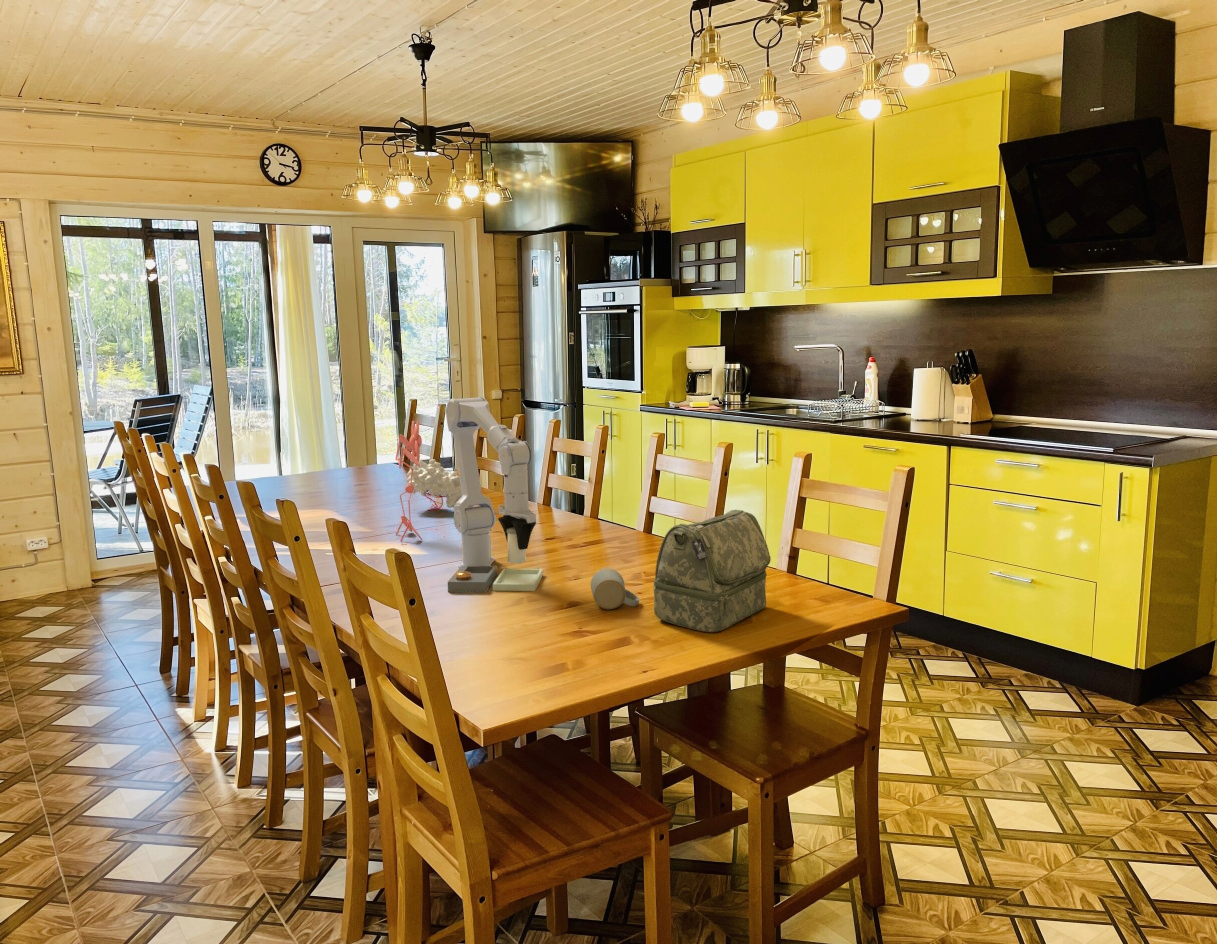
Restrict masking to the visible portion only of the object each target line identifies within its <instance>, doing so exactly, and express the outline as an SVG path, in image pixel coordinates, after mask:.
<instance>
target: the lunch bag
mask: <svg viewBox="0 0 1217 944" xmlns="http://www.w3.org/2000/svg"><path fill="white" fill-rule="evenodd" d="M765 539H766V538H765V537H764V533H763V531H762V528H761V526H760V524H759V521H758V520H757V517H755V515H754V514H752V513H750V512H747V511H744V510H741V509H731V510H729V511H727V512H726V513H725V514H722V515H718V516H714V517H710V518H707V519H705V520H703V521H698V522H694V523H690V524H689V523H688V524H686V523H680V524H676V525H673V526H672V527H671V528H670V529H669V530H668V531H667V532H666V533H665V535H664V537H663V539H662V541H661V544H660V547H659V551H658V555H657V558H656V566H655V571H654V572H655V573H654V576H655V577H654V580H653V596H654V597H653V598H654V600H653V601H654V602H653V605H654V606H653V612H654V615H655V616H656V617H657V619H659V620H660V621H664V622H667V623H670V624H673V625H676V626H680V627H683V628H687V629H690V630H695V631H699V632H704V633H716V632H721V631H723V630H725V629H728V628H730V627H731V626H734V625H735V624H737V623H739V622H741V621H742V620H745V619H746V618H748V617H749V616H752V615H754V614H755V613H758V612H759V611H761V610H763V609H764V608H766V606H767V595H766V593H767V592H766V591H767V590H766V586H767V585H766V582H767V571H766V570H767V567H768V566H769V564H770V563H771V561H772V558H771V554H770V551H769V548H768V547H769V546H768V544H767V541H766V540H765Z"/></svg>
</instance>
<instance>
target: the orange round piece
mask: <svg viewBox="0 0 1217 944" xmlns="http://www.w3.org/2000/svg"><path fill="white" fill-rule="evenodd" d="M456 572H457V571H456ZM456 572H455V573H456ZM456 578H457V579H459V580H468V578H471V572H468V571H461V572H457V573H456Z"/></svg>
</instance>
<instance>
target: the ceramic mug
mask: <svg viewBox="0 0 1217 944" xmlns="http://www.w3.org/2000/svg"><path fill="white" fill-rule="evenodd" d="M590 589H591V593H592V598H593V599H594V601H595V603H596V605H598V606H599V607H600V608H602V609H604V610H615V609H617V608H619V607H620V606H622V604H624V605H627V606H630V607H633V608H634V607H637V606H638V605H639V602H640V598H639V597H638V596H637V595H636V594H635V593H633V592H632V591H630V590H629V589H626V587H625V580H624V578H623V576H622V575H621V574H620V572H618V570H615V569H613V568H601V569H599V570H598V571H596V572H595V573H594V574H593V576H592V578H591V581H590Z"/></svg>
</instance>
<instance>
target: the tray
mask: <svg viewBox="0 0 1217 944" xmlns="http://www.w3.org/2000/svg"><path fill="white" fill-rule="evenodd" d="M543 571H544V570H543V568H503V569H502V570H501V571H500V573H499V575H497V577H496V578H495V579H494V581H493V582H492V591H495V592H497V591H498V592H500V591H501V592H504V591H505V592H507V591H508V592H513V591H514V592H535V591H536V590H537V587H538V586H539V583H540V581H541V579H542V577H543V576H544V574H543V573H544V572H543Z"/></svg>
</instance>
